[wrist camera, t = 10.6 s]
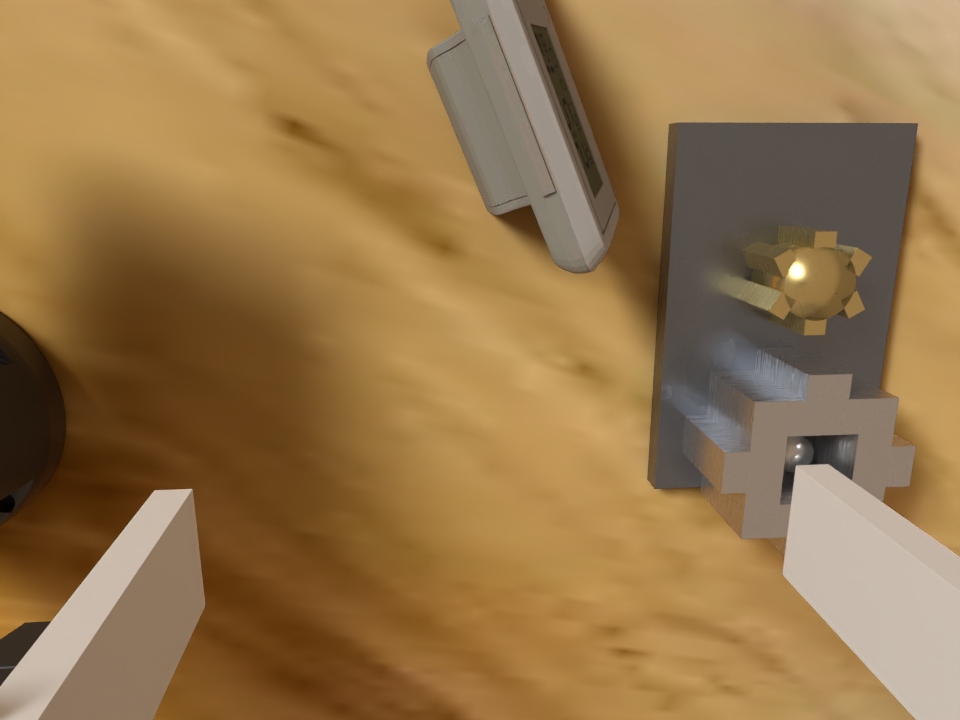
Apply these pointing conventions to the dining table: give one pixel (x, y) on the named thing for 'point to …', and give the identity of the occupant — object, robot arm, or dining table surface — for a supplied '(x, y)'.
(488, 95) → the digital clock
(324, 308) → the dining table surface
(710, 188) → the carrier
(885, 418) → the planet gear
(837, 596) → the robot arm
